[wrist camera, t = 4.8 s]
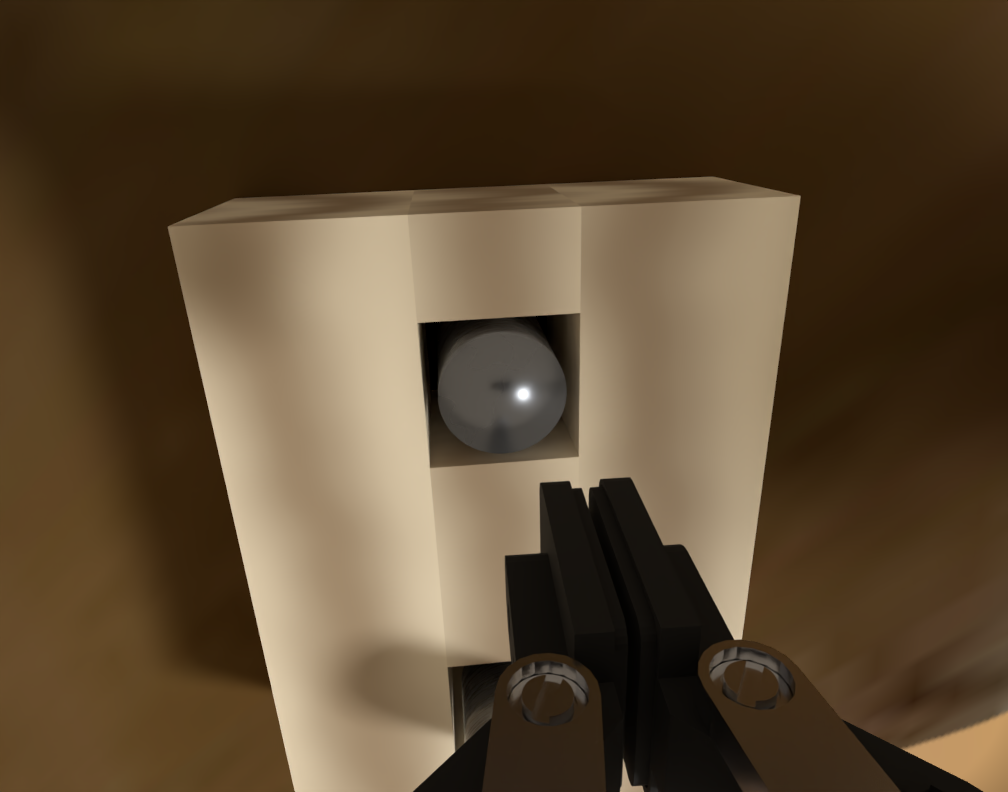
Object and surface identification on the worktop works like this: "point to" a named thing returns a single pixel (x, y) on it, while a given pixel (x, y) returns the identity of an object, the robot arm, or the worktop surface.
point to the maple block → (438, 452)
